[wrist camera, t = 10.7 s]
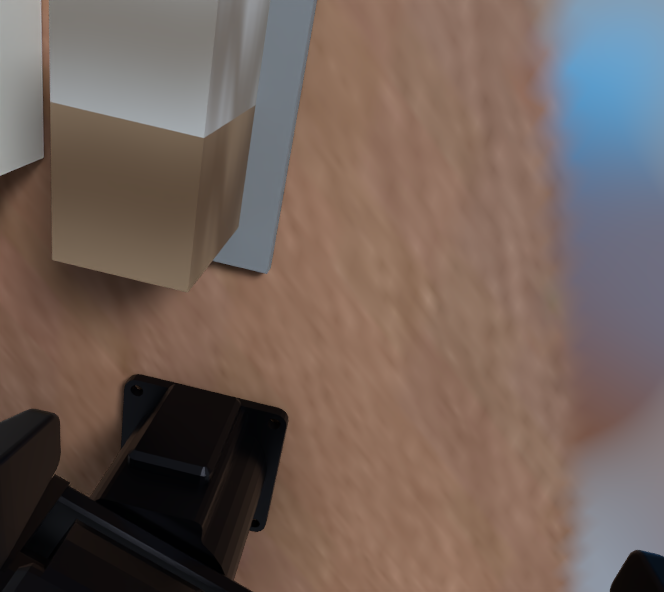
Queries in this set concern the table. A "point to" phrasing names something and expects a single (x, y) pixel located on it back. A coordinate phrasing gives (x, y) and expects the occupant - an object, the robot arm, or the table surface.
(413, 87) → the table surface
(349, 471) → the table surface
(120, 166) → the walnut box
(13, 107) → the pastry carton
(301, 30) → the slate mat
